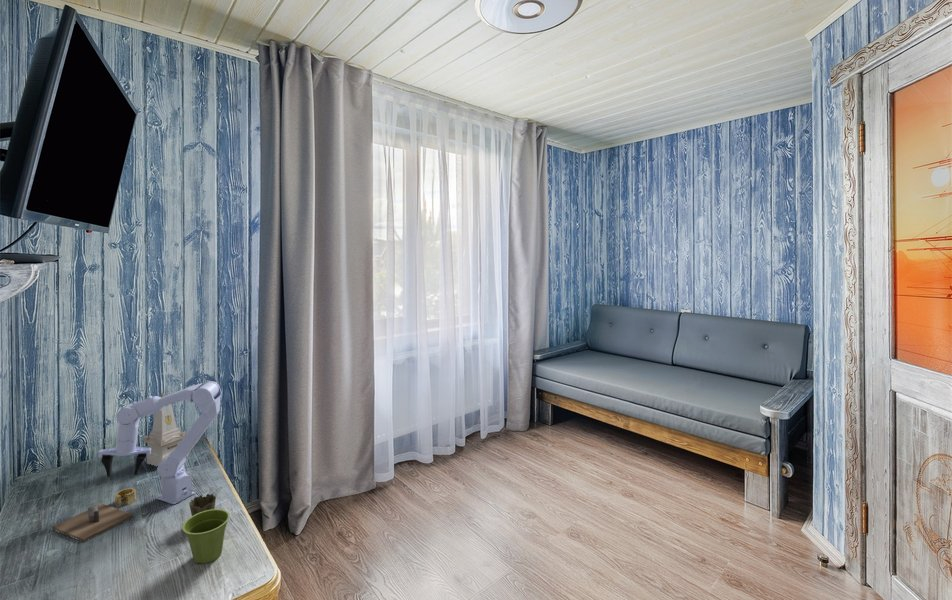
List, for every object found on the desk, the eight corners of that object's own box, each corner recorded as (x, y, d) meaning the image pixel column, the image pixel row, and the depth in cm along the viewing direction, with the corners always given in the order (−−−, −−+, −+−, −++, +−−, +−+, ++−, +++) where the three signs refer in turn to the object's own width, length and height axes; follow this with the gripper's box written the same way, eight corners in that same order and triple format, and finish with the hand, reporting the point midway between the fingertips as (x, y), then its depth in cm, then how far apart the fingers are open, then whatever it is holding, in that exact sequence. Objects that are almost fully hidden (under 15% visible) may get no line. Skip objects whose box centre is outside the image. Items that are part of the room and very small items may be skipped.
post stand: (133, 517, 147) (132, 501, 147) (83, 542, 134) (82, 525, 134) (102, 506, 153) (101, 491, 152) (52, 529, 140) (51, 513, 139)
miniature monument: (162, 468, 180) (158, 398, 177) (145, 463, 183) (141, 394, 180) (186, 458, 189) (183, 390, 186) (170, 453, 193) (167, 387, 190)
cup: (188, 531, 141) (187, 508, 140) (192, 518, 148) (191, 496, 147) (214, 526, 144) (214, 503, 143) (218, 513, 151) (217, 491, 150)
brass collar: (118, 499, 158) (118, 489, 157) (137, 495, 160) (137, 486, 160) (113, 507, 153) (112, 497, 152) (133, 503, 155) (132, 494, 155)
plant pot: (174, 563, 127) (172, 527, 125) (212, 539, 138) (210, 505, 136) (203, 575, 122) (201, 537, 121) (239, 549, 133) (238, 514, 132)
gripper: (154, 432, 162) (149, 467, 163) (104, 433, 155) (99, 470, 156) (150, 440, 156) (146, 477, 157) (98, 442, 149) (93, 480, 150)
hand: (122, 474), depth 156 cm, fingers open, 7 cm apart
